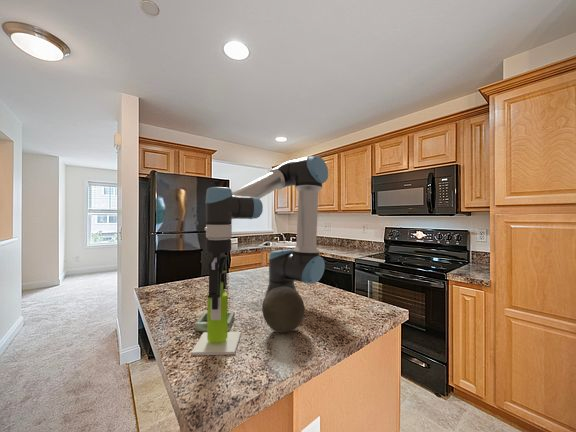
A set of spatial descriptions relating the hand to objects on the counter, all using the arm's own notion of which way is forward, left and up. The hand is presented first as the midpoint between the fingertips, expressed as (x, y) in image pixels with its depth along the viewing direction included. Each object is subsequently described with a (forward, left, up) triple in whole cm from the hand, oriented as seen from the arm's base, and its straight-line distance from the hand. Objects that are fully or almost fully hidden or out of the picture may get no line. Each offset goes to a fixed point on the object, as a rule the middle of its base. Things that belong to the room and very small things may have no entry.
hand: (218, 314), depth 76 cm
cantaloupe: (-20, -7, -9) cm, 23 cm away
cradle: (+4, -14, -9) cm, 17 cm away
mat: (0, 0, -9) cm, 9 cm away
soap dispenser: (0, 0, -7) cm, 7 cm away
